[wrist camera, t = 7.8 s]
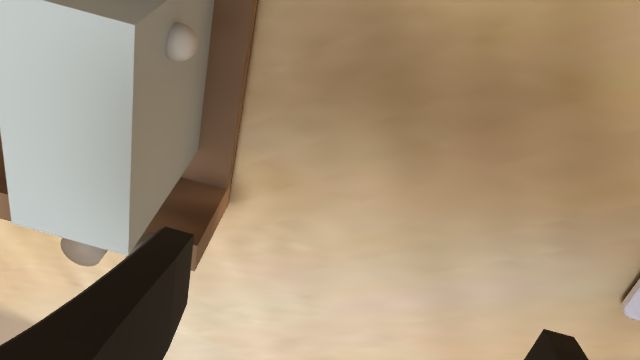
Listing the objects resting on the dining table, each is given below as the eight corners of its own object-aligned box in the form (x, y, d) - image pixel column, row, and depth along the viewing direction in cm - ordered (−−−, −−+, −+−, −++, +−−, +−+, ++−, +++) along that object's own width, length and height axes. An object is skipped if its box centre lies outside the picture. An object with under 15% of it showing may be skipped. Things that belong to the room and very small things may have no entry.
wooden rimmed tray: (276, -133, 17) (224, -108, 12) (228, 206, 24) (184, 293, 20) (-124, -235, 17) (-305, -245, 13) (-54, 130, 24) (-155, 200, 20)
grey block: (239, -34, 18) (163, 32, 13) (214, 155, 22) (149, 261, 17) (108, -70, 18) (-18, -17, 13) (107, 125, 22) (11, 223, 17)
